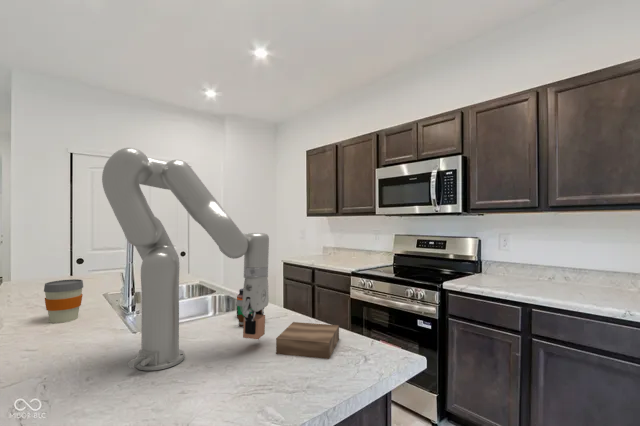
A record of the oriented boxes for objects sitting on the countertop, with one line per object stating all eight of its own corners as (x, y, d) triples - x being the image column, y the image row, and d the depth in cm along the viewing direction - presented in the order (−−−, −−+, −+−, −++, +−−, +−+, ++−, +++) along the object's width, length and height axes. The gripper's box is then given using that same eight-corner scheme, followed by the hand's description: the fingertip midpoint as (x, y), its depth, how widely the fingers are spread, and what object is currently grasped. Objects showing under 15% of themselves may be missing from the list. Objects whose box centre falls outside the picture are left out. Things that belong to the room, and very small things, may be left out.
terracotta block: (258, 339, 100) (258, 319, 101) (243, 337, 102) (243, 317, 102) (264, 334, 105) (265, 315, 105) (250, 332, 106) (250, 313, 107)
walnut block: (329, 360, 94) (328, 342, 94) (276, 355, 98) (276, 338, 98) (339, 340, 110) (339, 325, 110) (293, 336, 114) (293, 322, 114)
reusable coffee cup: (88, 318, 134) (89, 281, 135) (51, 326, 124) (51, 286, 124) (75, 313, 141) (75, 278, 141) (38, 321, 130) (38, 283, 131)
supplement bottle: (244, 320, 131) (244, 291, 131) (233, 317, 134) (233, 289, 134) (254, 316, 136) (254, 288, 136) (244, 314, 139) (244, 287, 139)
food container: (246, 330, 119) (246, 302, 119) (235, 327, 122) (235, 300, 123) (271, 321, 128) (271, 296, 129) (260, 319, 132) (260, 293, 132)
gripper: (255, 277, 95) (253, 341, 94) (276, 269, 111) (275, 324, 111) (231, 275, 97) (229, 338, 96) (256, 268, 113) (254, 322, 113)
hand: (254, 330), depth 103 cm, fingers closed on terracotta block, 5 cm apart
